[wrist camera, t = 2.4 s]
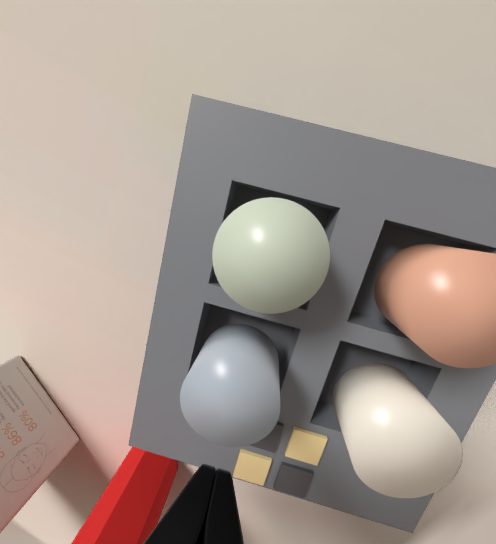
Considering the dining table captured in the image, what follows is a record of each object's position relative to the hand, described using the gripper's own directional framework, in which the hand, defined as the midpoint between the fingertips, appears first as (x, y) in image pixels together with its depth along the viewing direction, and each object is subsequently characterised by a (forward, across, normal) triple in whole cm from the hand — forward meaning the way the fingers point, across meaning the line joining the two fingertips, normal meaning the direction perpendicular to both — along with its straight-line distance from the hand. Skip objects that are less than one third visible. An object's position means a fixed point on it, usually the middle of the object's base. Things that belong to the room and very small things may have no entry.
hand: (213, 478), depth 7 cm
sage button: (+6, 0, -6) cm, 9 cm away
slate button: (+6, 0, 0) cm, 6 cm away
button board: (+9, -3, -2) cm, 10 cm away
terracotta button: (+6, -7, -6) cm, 11 cm away
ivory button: (+6, -7, 0) cm, 9 cm away
